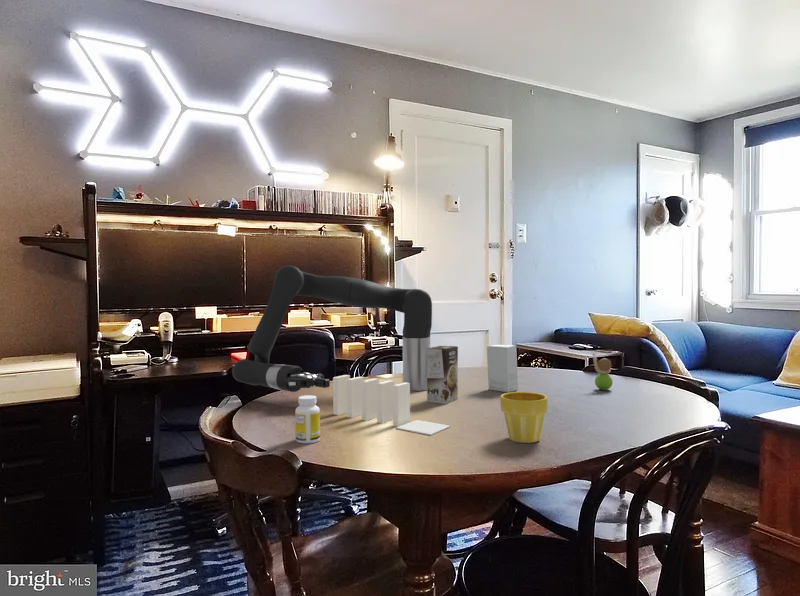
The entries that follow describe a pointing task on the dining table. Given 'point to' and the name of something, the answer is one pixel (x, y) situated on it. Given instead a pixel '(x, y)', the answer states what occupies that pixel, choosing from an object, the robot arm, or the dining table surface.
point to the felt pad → (423, 427)
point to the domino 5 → (401, 404)
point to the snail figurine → (603, 373)
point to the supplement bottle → (307, 420)
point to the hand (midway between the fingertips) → (327, 383)
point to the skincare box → (502, 368)
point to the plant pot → (524, 415)
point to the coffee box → (442, 374)
